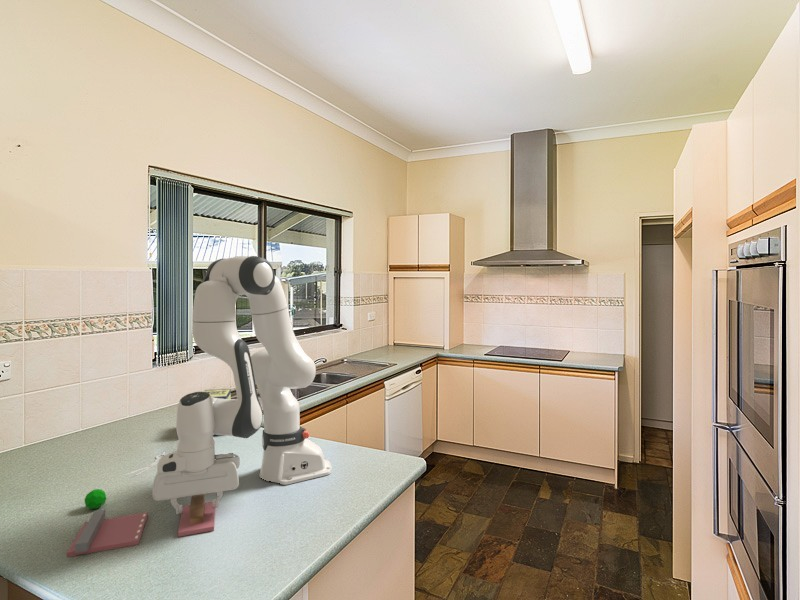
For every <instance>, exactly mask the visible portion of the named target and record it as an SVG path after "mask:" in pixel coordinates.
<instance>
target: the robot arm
mask: <svg viewBox="0 0 800 600" xmlns="http://www.w3.org/2000/svg"><path fill="white" fill-rule="evenodd" d="M275 273H276V272H275V270H274V268H273V266H272V264H271V262H269V261H268V260H267V259H266V258H264V257H261V256H256V255H251V256H249V255H248V256H246V255H242V256H241V255H240V256H233V257H227V258H220V259H217V260H215V261H213V262H211V263H210V264H209V265H208V267H207V268H206V271H205V275H204V280H203V282H201V283H200V284H199V285H198V286H197V287H196V290H195V293H194V298H193V307H192V337H193V341H194V343H195V345H196V346H197V347H198V348H199V349H200V350H202V351H203V352H204V353H206V354H208V355H209V356H212V357H214V358H216V359H219V360H220V361H222V362H224V363H225V364H227V366H229V367H230V369H231V371H232V374H233V380H234V385H235V387H234V388H235V391H236V392H235V393H236V398H231V399H223V398H214V397H211V395H210V394H209V393H207V392H204V391H194V392H191V393H188V394H186V395H184V396H182V397H181V398H180V399H179V401H178V403H177V404H178V405H177V409H176V421H175V422H176V423H175V425H176V426H175V427H176V434H177V437H178V442H177V445H176V450H175V451H173V452H170V453H167V454H164V455H165V456H160V458H161V459H159V460H158V461H157V463H158V465H156V468H157V471H156V474H155V476H154V479H153V485H152V494H151V497H152V500H154V502H159V501H168V500H170V504H171V505H172V507H173V508H174V509H175V515H177V516H178V515H182V513H183V506H184V504H179V502H178V499H179V498H180V499H181V498H185V497H186V498H187V497H192V496H194V495H201V494H205V495H206V494H207V495H208V494H212V493H213V494H214V493H216V497H215V498H214V499H212V501H211V502H212V505H213V506H212V509H215V510H216V509H219V506H220V505H219V502H220V501H221V499H222V497H223V495H224V494H223V493H224V492H227V491H232V490H237V488H238V487H239V485H240V482H239V481H240V480H239V471H238V469H239V467H240V466H241V464H240V462H241V461H240V460H241V459H240V457H239V455H238V454H235V453H233V452H229V453H225V454H224V453H221V454H220V453H219V454H216V445H215V444H216V442H215V439H214V436H213V435H215V434H216V435H225V436H230V437H235V438H241V439H248V438H250V437H252V436H253V435H254V434H256V433H257V432H258V431H259V430H260V428H261V427H262V425H263V430H262V435H261V436H262V437H261V440H262V441H261V443H262V449H263V453H262V454H263V455H262V461H261V467H260V471H259V474H258V476H259V478H260V479H261V478H262V480H263V479H264V480H263V481H265V480H266V481H267V482H269V481H271V482H272V483H278V484H279V483H280V485H283V486H287V485H291V484H296V483H299V482H304V481H307V480H312V479H316V478H320V477H325V476H328V475H330V474H331V473H332V468H333V467H332V464H331V462H330V461H329V460H328V459H327V458H325V456H324V452H323V450H322V448H321V446H319V445H318V444H316V443H315V442H314V441H312V440H310V439H309V437H310V433H309V431H308V430H307V429H306V428H305V427H303V426H300V420H301V419H300V417H301V416H300V415H301V413H300V404H299V403H300V402H299V401H298V400H297V398H296V397H295V396H294V395H293V393H292V390H294V389H297V390H298V389H305V388H307V387H309V386H310V385H311V384H312V383H313V382H314V380H315V377H316V374H317V373H316V372H317V367H316V363H315V362H314V360H313V359H312V358H311V357H310V356H308V354H307V353H306V352H305V351H304V349H303V348H302V346H301V344H300V343H299V341H298V339H297V337H296V334H295V331H294V329H293V326H292V321H291V316H290V312H289V311H290V310H289V307H288V302H287V297H286V295H285V294H286V293H285V291H284V287H283V285H282V283H281V280H280V279H279V277H278V276H276V274H275ZM244 295H245V296H246V297H247V299H248V303H249V309H250V310H249V311H250V315H251V319H252V325H253V331H254V333H255V334H254V335H255V337H256V339H257V340H258V342H259V343H261V345H262V346H263V347H264V348H265V349H264V350H259V351H255V352H254V353H252V355H251V351H250V348H249V345H248V344H247V342H246V341H244V340H243V339H242V338H241V336H240V333H239V331H238V327H237V314H236V313H237V312H236V303H237V300H238V298H239V296H244ZM257 390H258V391H257ZM258 393H259V396H260V399H261V402H260V400H259V396H258ZM261 403H262V406H261ZM266 481H265V482H266Z"/></svg>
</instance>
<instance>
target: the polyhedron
mask: <svg viewBox="0 0 800 600" xmlns="http://www.w3.org/2000/svg"><path fill="white" fill-rule="evenodd" d="M106 502H107V494H106V492H105V491H104V490H103V489H99V488H95V489H93V490H91V491H90V492H88V493H87V494H86V495H85V497H84V505H85V508H87V509H89V510H97V509H99V508H100V507H102V506H103V505H104V504H105V503H106Z"/></svg>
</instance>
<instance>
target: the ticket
mask: <svg viewBox="0 0 800 600" xmlns="http://www.w3.org/2000/svg"><path fill="white" fill-rule="evenodd" d="M148 516H149V512H148V511H146V512H139V513H135V514H134V513H133V514H126V515H122V516H115V517H114V516H113V517H108V518H107V517H106V509H100V510H94V511H93V513H92V514H91V516H90V518H89V520H88V521H84V523H83V525H82V526H81V528H80V530H79V532H78V533H77V534H76V536H75V538H74V540H73V541H72V543H71V545H70V547H69V549H68V550H67V553H66V556H67V557H68V558H69V557H74V556H79V555H81V556H82V555H86V554H90V553H91V554H92V553H97V552H102V551H103V552H104V551H109V550H114V549H120V548H126V547H130V546H136V545H139V543H140V540H141V539H142V534H143V532H144V528H145V525H146V523H147V519H148Z"/></svg>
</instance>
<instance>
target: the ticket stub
mask: <svg viewBox="0 0 800 600" xmlns="http://www.w3.org/2000/svg"><path fill="white" fill-rule="evenodd" d="M205 495H206V494H201V495H194V496H190V502H189V505H188V504H187V505H183V513H182V514H180V515H181V516H180V521H179V525H178V530H177V531H178V532H177V537H180V538H181V537H184V536H190V535H195V534H196V535H197V534H202V533H208V532H212V531H215V521H216V520H215V518H216V517H215V515H216V508H215V509H212V506H213V505H212V501H208V502H207V501H205V500H206V499H205Z"/></svg>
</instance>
